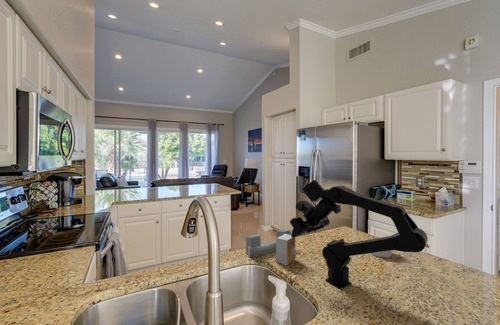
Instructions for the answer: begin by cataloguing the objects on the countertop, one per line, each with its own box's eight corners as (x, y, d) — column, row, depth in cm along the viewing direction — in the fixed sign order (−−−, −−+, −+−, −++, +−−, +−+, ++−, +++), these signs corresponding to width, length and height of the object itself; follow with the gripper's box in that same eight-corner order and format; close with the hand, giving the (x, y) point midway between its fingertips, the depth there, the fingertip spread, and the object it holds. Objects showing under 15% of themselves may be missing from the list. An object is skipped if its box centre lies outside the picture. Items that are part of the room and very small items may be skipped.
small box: (287, 265, 98) (287, 240, 98) (275, 262, 102) (275, 237, 102) (295, 259, 105) (295, 235, 105) (284, 256, 108) (284, 233, 108)
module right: (290, 248, 118) (290, 230, 118) (282, 249, 116) (282, 231, 116) (284, 244, 123) (284, 227, 123) (276, 246, 120) (276, 229, 120)
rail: (292, 248, 117) (293, 239, 117) (250, 258, 106) (251, 247, 106) (289, 246, 120) (289, 237, 120) (247, 255, 108) (247, 245, 108)
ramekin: (386, 249, 117) (386, 239, 116) (398, 259, 105) (398, 247, 105) (363, 248, 118) (363, 238, 118) (372, 258, 107) (372, 246, 106)
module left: (260, 254, 110) (260, 235, 109) (251, 256, 107) (251, 237, 107) (255, 251, 114) (255, 232, 114) (245, 253, 111) (245, 234, 111)
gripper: (322, 192, 100) (302, 215, 108) (293, 197, 88) (272, 221, 96) (340, 214, 93) (317, 236, 102) (311, 221, 82) (287, 246, 90)
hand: (299, 234), depth 98 cm, fingers open, 9 cm apart
